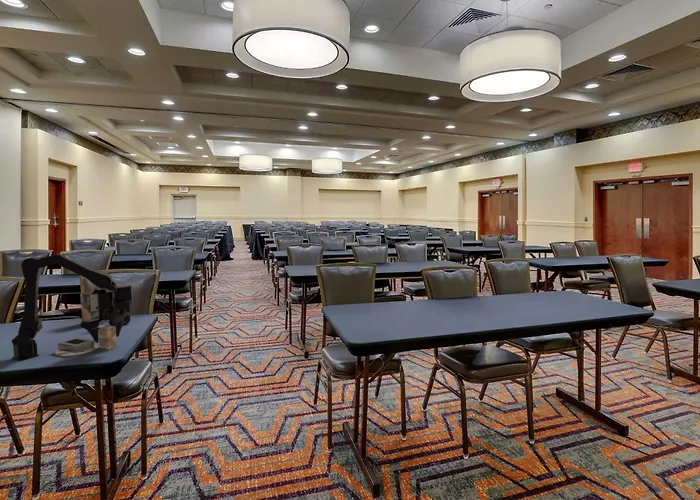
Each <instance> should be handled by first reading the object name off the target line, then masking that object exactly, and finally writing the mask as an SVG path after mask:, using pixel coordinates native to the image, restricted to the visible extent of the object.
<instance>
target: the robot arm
mask: <svg viewBox="0 0 700 500" xmlns="http://www.w3.org/2000/svg"><path fill="white" fill-rule="evenodd" d="M54 265H56V266H60V267H61V268H64V269H66V270H68V271H70V272H72V273H74V274H77V275H78V276H81V277H82V278H85V279H86V280H87V281H89V282H90V283H91V284H92V285H94V286H96V287H95V288H94V290H92V291H91V292H92V293H91V294H97V304H98V306H96V309H98V316H96V319H98V320H94V319H88V320H84V321H82V320H81V322H80V328H81V329H84V330H87V332H88V333H89V335H90V336H91V337H92V340H94V343H96V344H99V334H98V330H99V328H100V327H99V326H100V324H103V323H104V324H105V323H109V321H111V322H112V323H113V324H114V326H116V338H118V337H120V333H121V332H122V327H123V326H124V325H123V324H124V323H125V322H126V321H128V320H127V319H130V320H131V313H130V314H129V313H128V312H127V310H126V309H121V310H117V309H116V305H113V297H114V299H115V300H116V301H118V303H119V302H129V303H130V302H131V303H132V302H133V301H134V300H133V299H134V294H133V289H132V285H126V286H119V285H117V284H116V283H115V282H114V280H113V276H112V275H111V274H109V273H106V272H103V271H99V270H95V269H92V268H90V267H88V266H85V265H84V264H81V263H79V262H78V261H76V260H73V259H71V258H69V257H67V256H65V255H63V253H56V254H52V255H49V256H43V257H39V256H31V257H28V258H26V259H24V260H22V261H21V271H22V275H23V278H24V301H23V302H24V303H23V304H24V305H23V315H22V319H21V321H20V325H19V328H18V334H17V335H16V336H15V337H14V338H13V339H11V343H12V349H13V350H12V351H13V356H12V357H11V359H13V360H17V361H24V360H28V359H30V358H35V357H38V356H39V355H40V354H39V353H38V344H37V342H36V339H35V338H36V336H37V335H38V334H39V333H40V332H41V330H42V329H43V321H44V319H43V317H41V318H39V315H38V303H39V284H40V277H41V275H42V273H43V269H44V268H45V267H46V268H47V267H50V266H54ZM102 320H103V321H102Z"/></svg>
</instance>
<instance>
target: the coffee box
mask: <svg viewBox="0 0 700 500" xmlns="http://www.w3.org/2000/svg"><path fill="white" fill-rule="evenodd" d="M92 292H93V291H87V292H81V293H79V295H80V310H81V311H80V312H81V322H82V321H84V320H88V319H94V320H98V319H96V316H98V309H96V306H98V304H97V294H91V293H92ZM102 321H104V320H102Z"/></svg>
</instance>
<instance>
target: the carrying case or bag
mask: <svg viewBox="0 0 700 500" xmlns="http://www.w3.org/2000/svg"><path fill="white" fill-rule="evenodd" d="M113 305H116V309H117V310H121V309H126V310H127V312H128V313H129V314H130V315H131V308H130V305H131V306H132V301H131V302H119V303H118V301H116V300H115V299H114V296H113ZM127 320H128V321H126V322H125V323H124V324H123V326H124V325H128V324H129V323H130V321H131V318H130V319H127ZM108 325H111V326H114V324H113V323H112V322H111V321H109V322H108Z"/></svg>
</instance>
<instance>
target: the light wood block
mask: <svg viewBox="0 0 700 500" xmlns="http://www.w3.org/2000/svg"><path fill="white" fill-rule="evenodd" d="M98 327H100V328H99V330H98V338H99V341H98V346H99V348H100V349H104V348H105V349H104V350H111V348H112V349H115V348H117V347H118V346H117V337H116V326H111V325H109V324H104V325H99V326H98Z"/></svg>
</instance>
